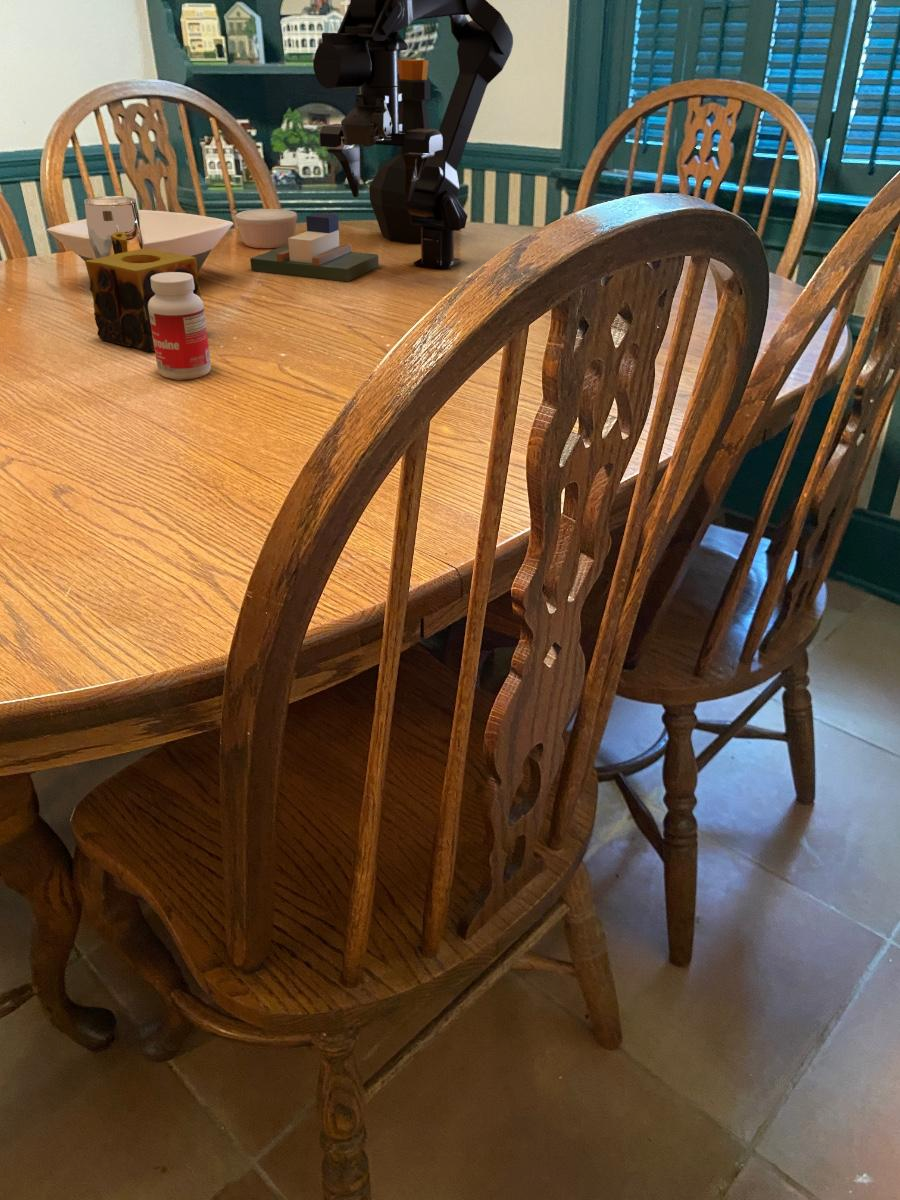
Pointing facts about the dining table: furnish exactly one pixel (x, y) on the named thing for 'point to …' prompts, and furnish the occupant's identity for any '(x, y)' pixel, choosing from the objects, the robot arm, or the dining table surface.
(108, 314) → the candle
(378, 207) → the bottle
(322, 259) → the green board with rails
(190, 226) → the bowl
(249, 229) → the ramekin
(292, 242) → the cream and navy block
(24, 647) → the dining table surface
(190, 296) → the pill bottle
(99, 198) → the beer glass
